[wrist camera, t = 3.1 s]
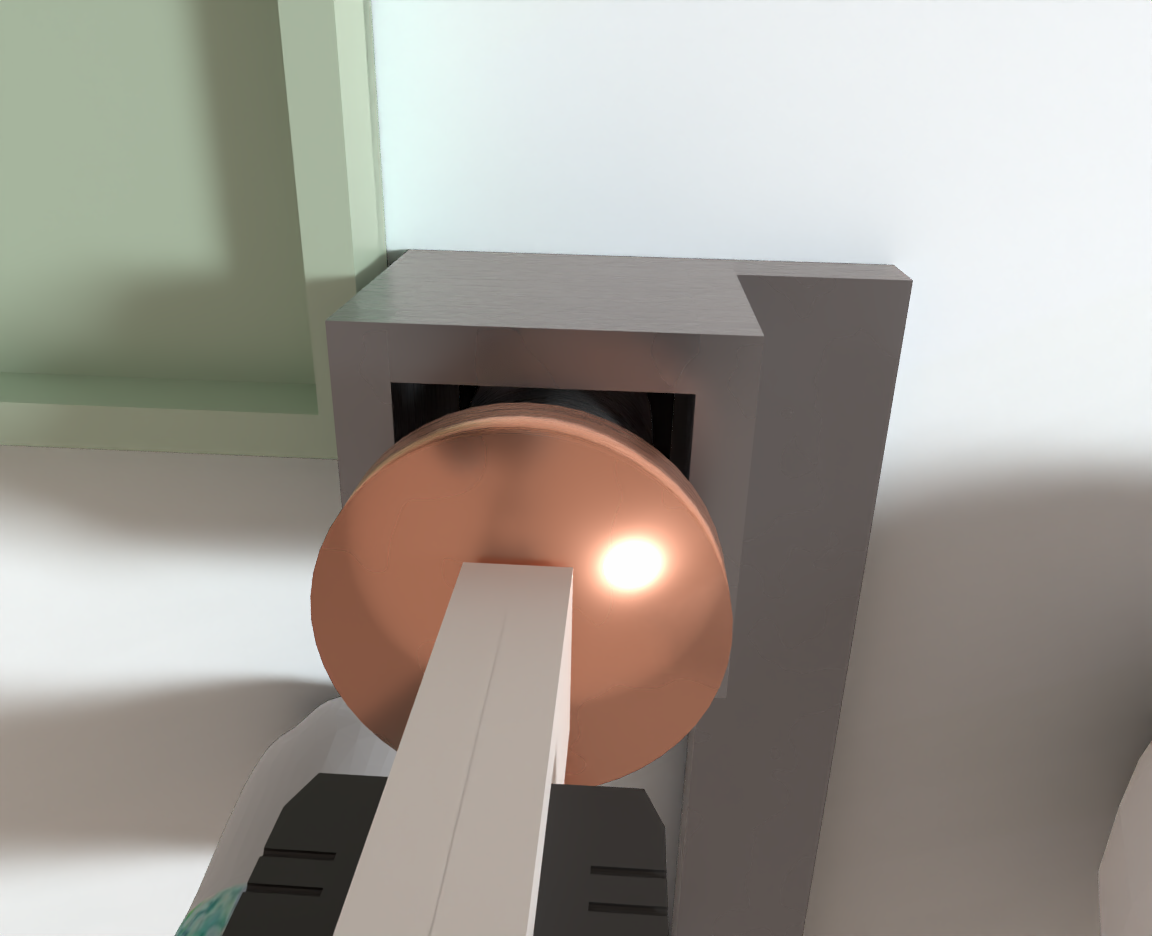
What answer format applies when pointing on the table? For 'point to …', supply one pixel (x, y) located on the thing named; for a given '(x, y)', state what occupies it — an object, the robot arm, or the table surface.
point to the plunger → (539, 538)
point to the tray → (182, 220)
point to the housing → (716, 471)
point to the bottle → (280, 803)
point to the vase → (1129, 860)
